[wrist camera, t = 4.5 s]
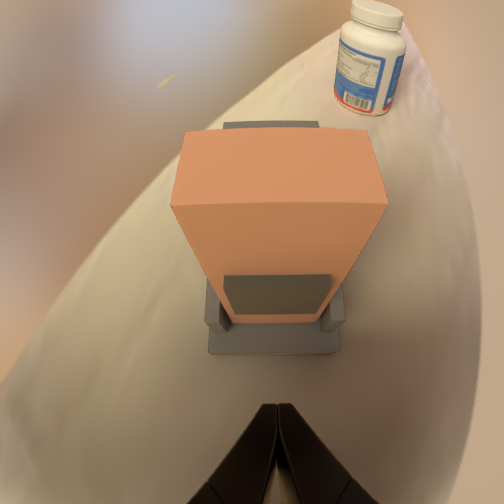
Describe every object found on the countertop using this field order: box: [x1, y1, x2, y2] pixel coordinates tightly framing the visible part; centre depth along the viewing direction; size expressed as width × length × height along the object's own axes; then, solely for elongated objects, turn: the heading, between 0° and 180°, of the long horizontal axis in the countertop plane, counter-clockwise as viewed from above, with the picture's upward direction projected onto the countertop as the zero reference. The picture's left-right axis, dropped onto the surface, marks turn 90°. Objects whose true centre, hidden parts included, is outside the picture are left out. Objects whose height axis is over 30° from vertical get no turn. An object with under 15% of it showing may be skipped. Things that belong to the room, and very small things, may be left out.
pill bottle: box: [334, 0, 406, 116], centre depth 19 cm, size 6×5×10 cm
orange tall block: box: [170, 127, 389, 323], centre depth 10 cm, size 2×4×10 cm, turn 89°
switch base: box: [205, 121, 345, 355], centre depth 14 cm, size 10×6×6 cm, turn 179°
